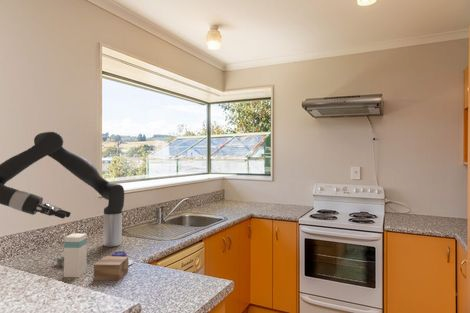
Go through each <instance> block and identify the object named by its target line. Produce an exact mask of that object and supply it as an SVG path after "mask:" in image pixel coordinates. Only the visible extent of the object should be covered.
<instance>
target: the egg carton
mask: <svg viewBox="0 0 470 313" xmlns="http://www.w3.org/2000/svg"><path fill="white" fill-rule="evenodd" d="M55 261H56V266H58V267H59V266H61V267H62V268H64V256H61V257H60V258H56V259H55Z"/></svg>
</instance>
